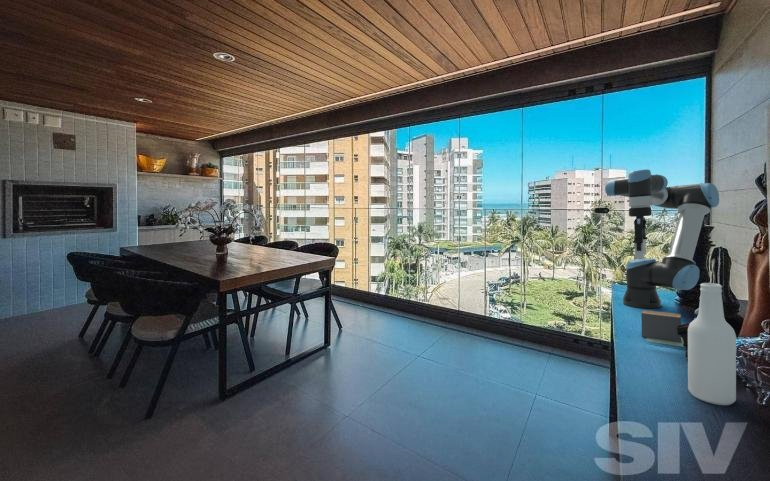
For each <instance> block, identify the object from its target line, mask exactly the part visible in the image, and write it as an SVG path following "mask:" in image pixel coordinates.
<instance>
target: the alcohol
mask: <svg viewBox="0 0 770 481" xmlns="http://www.w3.org/2000/svg"><path fill="white" fill-rule="evenodd" d="M699 286H700V288H699V290H700V296H699V305H698V314H697V316H696V317H695V318H694V319H693V320H692V321H691V322H689V323H690V324H689V323H688V324H689V327H688V361H687V389H688V391H689V393H690V394H691V395H692V396H693V397H695V398H696V399H698V400H700V401H703V402H705V403H708V404H712V405H718V406H730V405H732V404H734V403H735V402H736V401H737V363H736V356H737V335H736V332H735V329H734V328H733V326H731V324H729V323H728V322H727V321H726V319H725V312H724V304H723V303H724V302H723V294H722V293H723V289H722V288H723V285H721V284H720V283H716V282H715V283H714V282H702V283H700V284H699Z"/></svg>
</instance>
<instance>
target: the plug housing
mask: <svg viewBox="0 0 770 481" xmlns="http://www.w3.org/2000/svg"><path fill="white" fill-rule="evenodd" d="M640 314H641V337H642V338H646V339H647V338H654V339H660V340H667V341H673V342H680V343H681V336H680V335H678V334H677V329H676V326H679V325H682V314H681V313H673V312H664V311H657V310H655V311H654V310H646V309H642V310H641V313H640Z"/></svg>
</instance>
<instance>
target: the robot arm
mask: <svg viewBox="0 0 770 481" xmlns="http://www.w3.org/2000/svg"><path fill="white" fill-rule="evenodd" d="M668 183H669V182H668V178H667V177H666V176H664V175H661V174H652V172H651V170H650V169H637V170H632V171H630V172H628V177H626V178H618V179H611V180H608V181H606V183H605V187H604V192H605V194H606V195H607V196H609V197H616V196H620V197H626V198H628V199H626V200H627V201H626V202H627V203H628V207H629V208H628V216H629V217H631V218H632V217H635V219H634V221H633V226H634V227H633V229H634V240H632V243H633V244H634V259H631V260H628V261H627V262H626V268H625V270H626V290H625V292H624V294H623V298H622V304H624V305H626V306H629V307H633V308H640V309H657V308H661V307H662V301H661V299H660V297H659V294H658V292H657V287H660V288H667V289H674V290H684V291H689V290H691V289H693V288H695V286H697V284H698V282H699V279H700V272H701V271H700V268H699V267H698V266H697V265H696V261H695V260H693V258H694V255H695V251H696V247H697V244H698V240H699V237H700V233H701V230H702V226H703V222H704V219H705V215H707V214H709V213H710V212H711V209H712V208H716V207H718V206H719V203H720V194H719V190H718V188H717V186H716V185H715V184H714V183H712V182H711V183H710V182H704V183H702V182H701V183H695V184H694V183H693V184H682V185H681V184H680V185H674V186H668ZM651 206H654V207H659V208H664V209H672V210H673V209H674V210H677V211H678V212H679V216H678V220H677V223H676V226H675V227H676V228H675V231H674V234H673V238H672V241H671V244H670V247H669V251H668V255H666V256H664V257H663V258H662V261H661V262H657V259H656V258H644V255H647V252H646V251H647V241H646V240H648V236H646V229H647V220H646V217H649V216H652V207H651Z"/></svg>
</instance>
